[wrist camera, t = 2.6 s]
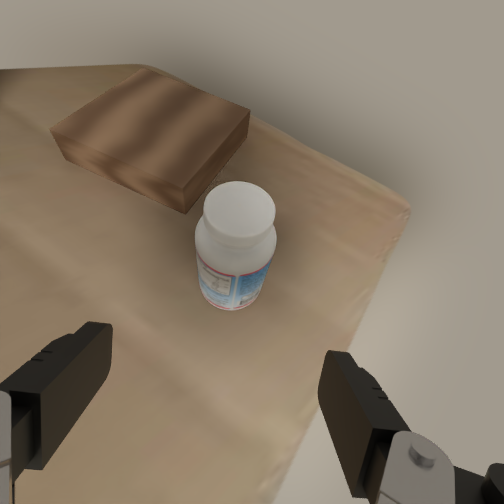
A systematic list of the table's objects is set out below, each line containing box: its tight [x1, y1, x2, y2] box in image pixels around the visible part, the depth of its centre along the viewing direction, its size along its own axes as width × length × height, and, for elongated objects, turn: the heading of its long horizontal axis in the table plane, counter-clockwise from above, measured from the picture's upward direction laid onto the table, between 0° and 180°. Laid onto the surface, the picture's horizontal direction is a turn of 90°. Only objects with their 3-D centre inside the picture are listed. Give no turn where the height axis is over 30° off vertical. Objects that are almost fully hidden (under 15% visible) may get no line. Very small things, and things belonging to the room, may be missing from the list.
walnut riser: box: [49, 68, 250, 214], centre depth 34 cm, size 16×16×4 cm
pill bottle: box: [195, 181, 277, 310], centre depth 23 cm, size 6×6×11 cm
